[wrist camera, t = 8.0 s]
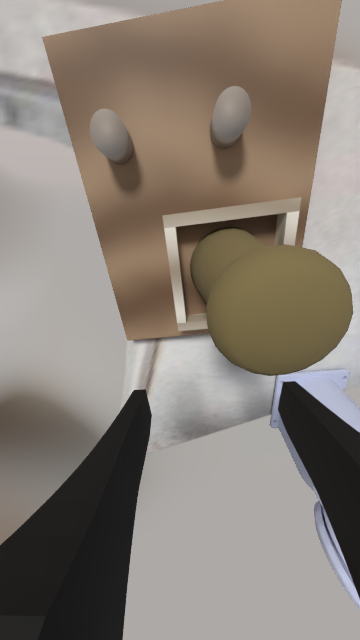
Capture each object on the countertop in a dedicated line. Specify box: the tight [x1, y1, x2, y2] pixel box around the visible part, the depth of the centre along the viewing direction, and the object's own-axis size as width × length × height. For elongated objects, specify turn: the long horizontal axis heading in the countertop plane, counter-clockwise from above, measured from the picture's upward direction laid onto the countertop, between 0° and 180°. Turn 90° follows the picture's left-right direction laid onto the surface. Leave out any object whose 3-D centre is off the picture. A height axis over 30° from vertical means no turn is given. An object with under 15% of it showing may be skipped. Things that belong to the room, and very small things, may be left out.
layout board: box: [42, 0, 342, 340], centre depth 14 cm, size 20×16×3 cm
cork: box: [190, 226, 353, 376], centre depth 11 cm, size 6×6×11 cm
